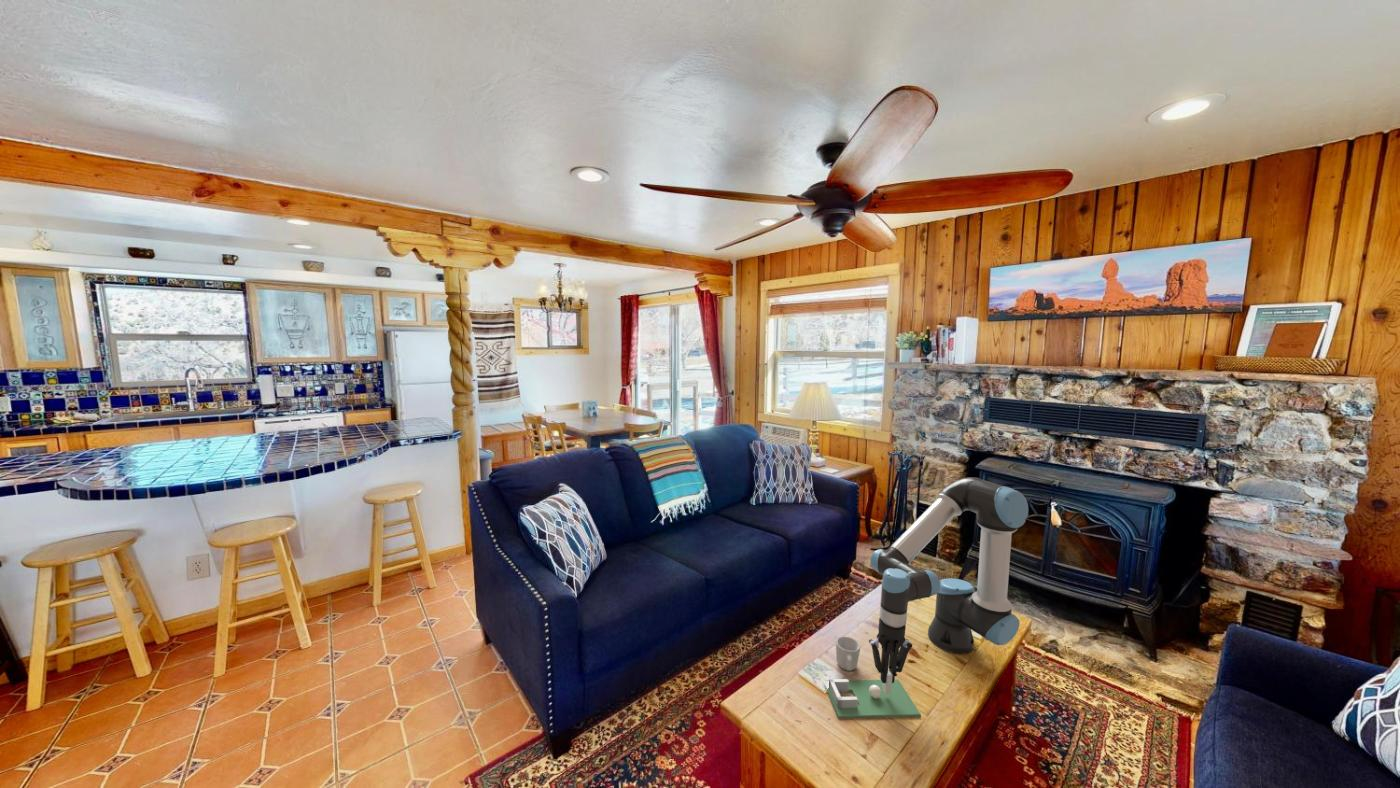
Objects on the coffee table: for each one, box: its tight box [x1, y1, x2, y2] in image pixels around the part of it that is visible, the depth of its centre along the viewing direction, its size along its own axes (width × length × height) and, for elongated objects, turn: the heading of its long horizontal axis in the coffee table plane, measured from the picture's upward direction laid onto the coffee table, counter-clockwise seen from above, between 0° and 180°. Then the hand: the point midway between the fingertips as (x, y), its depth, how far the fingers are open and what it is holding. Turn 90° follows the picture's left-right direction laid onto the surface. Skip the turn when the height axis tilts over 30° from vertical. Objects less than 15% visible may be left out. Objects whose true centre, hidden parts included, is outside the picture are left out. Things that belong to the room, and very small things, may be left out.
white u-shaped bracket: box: [828, 678, 858, 708], centre depth 142 cm, size 6×8×4 cm
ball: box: [869, 685, 881, 699], centre depth 142 cm, size 4×4×4 cm
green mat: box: [826, 679, 922, 719], centre depth 142 cm, size 25×14×1 cm, turn 93°
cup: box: [835, 635, 861, 671], centre depth 155 cm, size 11×8×8 cm
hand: (886, 691), depth 142 cm, fingers closed
